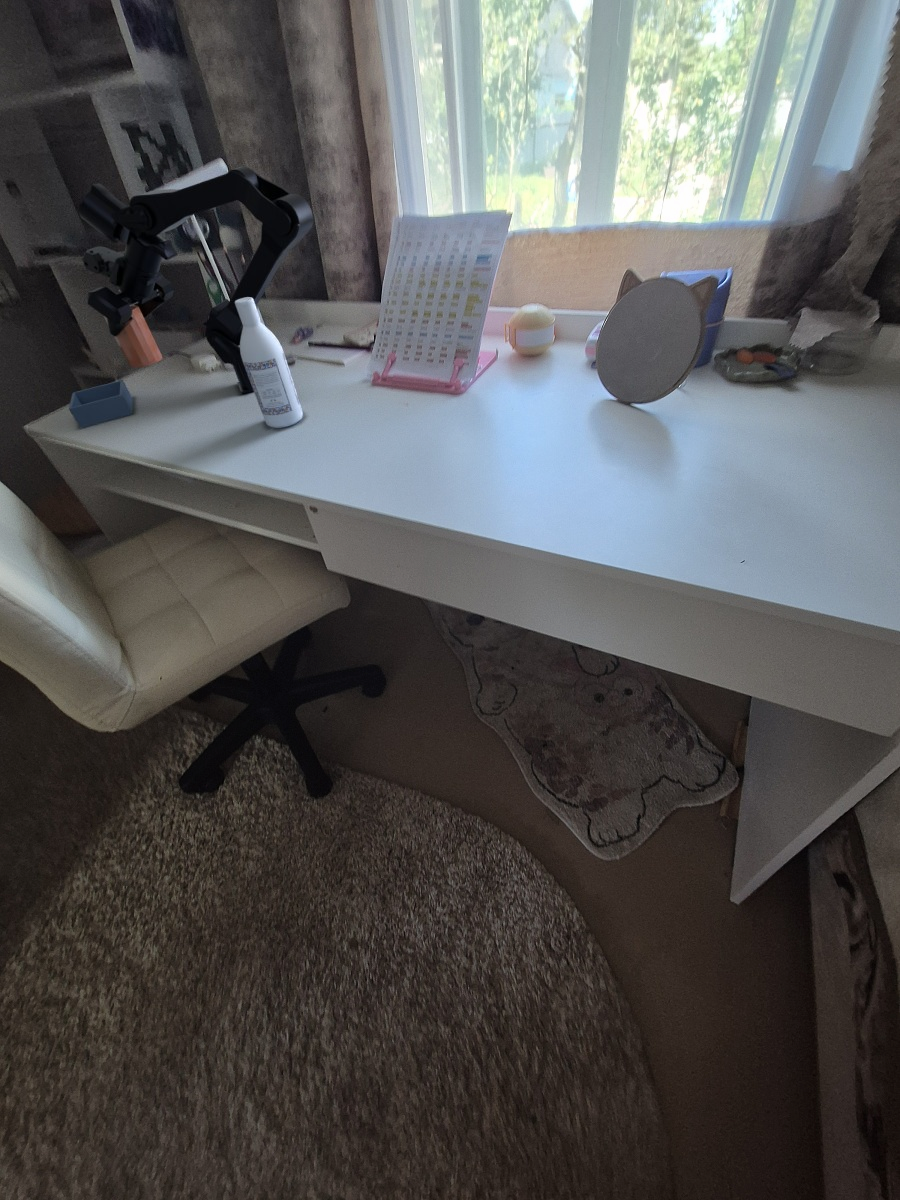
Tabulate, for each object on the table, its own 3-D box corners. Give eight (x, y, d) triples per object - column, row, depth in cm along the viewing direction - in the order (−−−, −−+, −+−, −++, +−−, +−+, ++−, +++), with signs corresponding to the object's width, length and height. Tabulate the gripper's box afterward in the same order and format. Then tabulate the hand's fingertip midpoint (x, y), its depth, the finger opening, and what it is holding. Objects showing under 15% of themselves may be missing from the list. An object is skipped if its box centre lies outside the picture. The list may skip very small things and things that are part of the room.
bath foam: (281, 410, 100) (241, 293, 86) (311, 413, 97) (274, 293, 84) (258, 427, 96) (212, 306, 82) (288, 430, 93) (246, 306, 79)
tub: (132, 414, 107) (122, 395, 105) (80, 428, 105) (68, 409, 102) (132, 398, 114) (122, 379, 112) (83, 411, 112) (72, 392, 109)
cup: (164, 361, 111) (139, 309, 104) (130, 370, 109) (103, 318, 102) (161, 353, 115) (137, 303, 108) (129, 361, 114) (103, 311, 107)
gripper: (130, 218, 102) (114, 287, 112) (62, 239, 89) (51, 314, 99) (184, 262, 105) (164, 324, 115) (127, 288, 92) (110, 356, 102)
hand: (124, 328), depth 108 cm, fingers closed on cup, 7 cm apart
